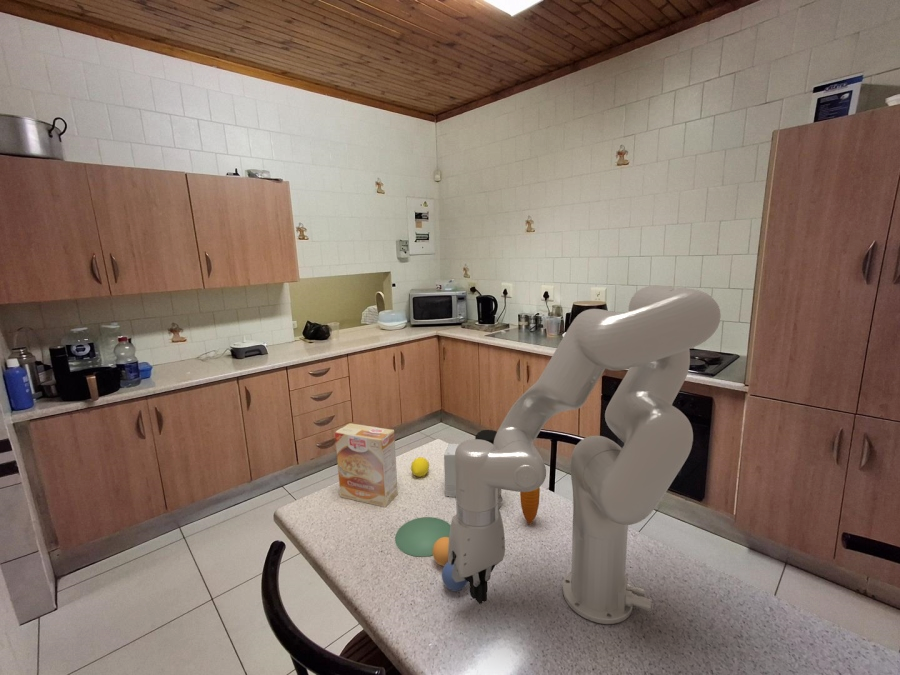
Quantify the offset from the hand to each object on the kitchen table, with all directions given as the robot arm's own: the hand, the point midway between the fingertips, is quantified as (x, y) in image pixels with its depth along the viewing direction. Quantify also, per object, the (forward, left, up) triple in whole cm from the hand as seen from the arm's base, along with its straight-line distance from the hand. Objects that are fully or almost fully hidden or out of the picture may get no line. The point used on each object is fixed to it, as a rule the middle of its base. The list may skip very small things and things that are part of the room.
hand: (478, 597), depth 77 cm
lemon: (+35, -37, -2) cm, 51 cm away
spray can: (+10, -31, -2) cm, 32 cm away
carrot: (-2, -28, -2) cm, 28 cm away
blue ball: (+6, -2, +1) cm, 6 cm away
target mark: (+19, -13, -2) cm, 23 cm away
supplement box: (+20, -34, -2) cm, 39 cm away
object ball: (+11, -7, +1) cm, 13 cm away
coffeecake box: (+42, -21, -2) cm, 47 cm away
